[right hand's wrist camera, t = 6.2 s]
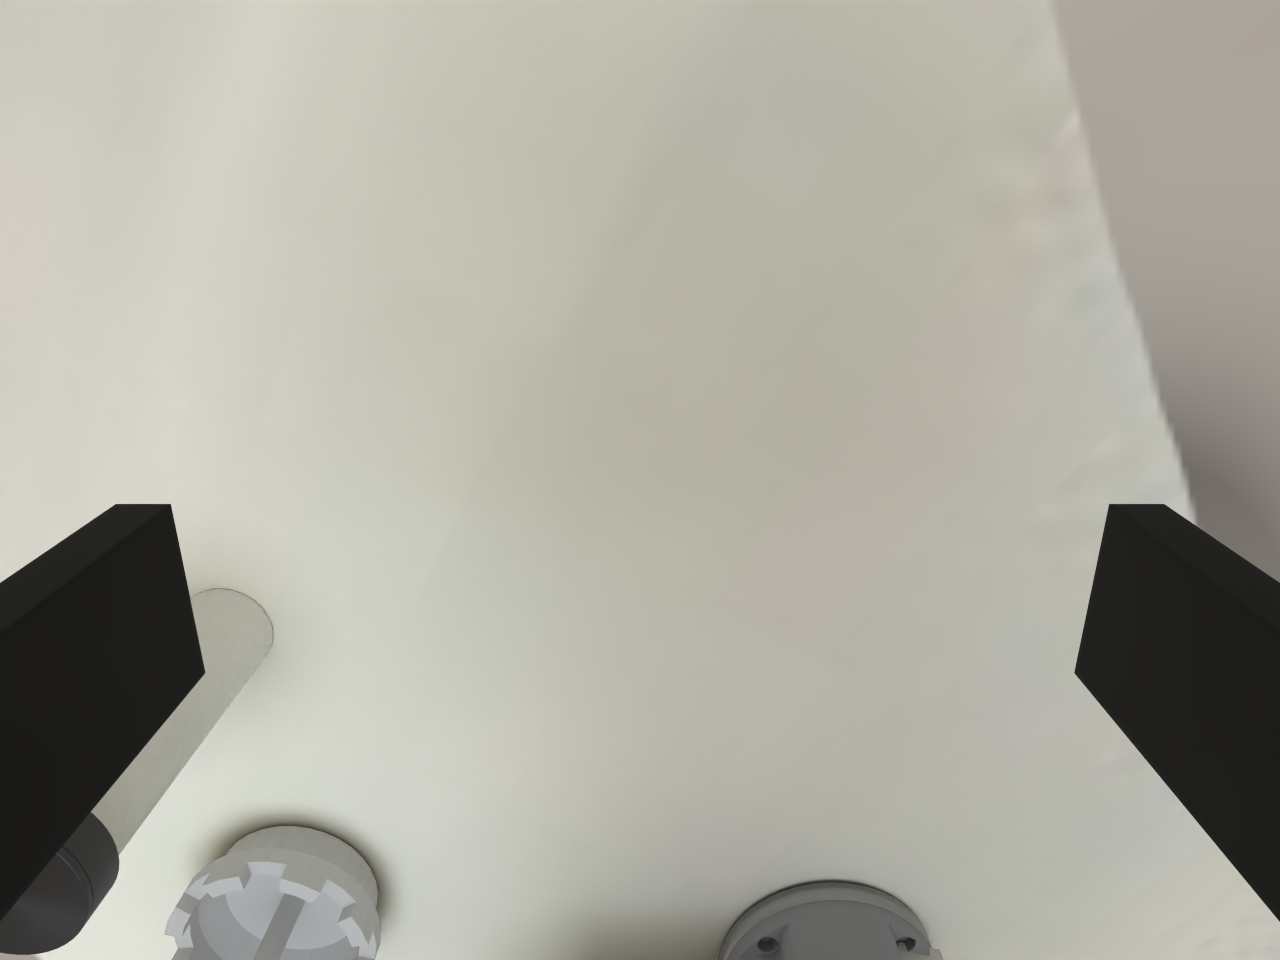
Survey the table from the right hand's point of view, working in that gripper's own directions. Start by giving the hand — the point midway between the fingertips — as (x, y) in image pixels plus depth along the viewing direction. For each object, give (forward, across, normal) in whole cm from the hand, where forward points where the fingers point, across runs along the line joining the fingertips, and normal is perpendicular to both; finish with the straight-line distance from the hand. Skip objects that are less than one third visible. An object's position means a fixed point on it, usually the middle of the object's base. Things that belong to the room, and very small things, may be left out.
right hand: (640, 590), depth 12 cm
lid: (+16, +25, +22) cm, 37 cm away
